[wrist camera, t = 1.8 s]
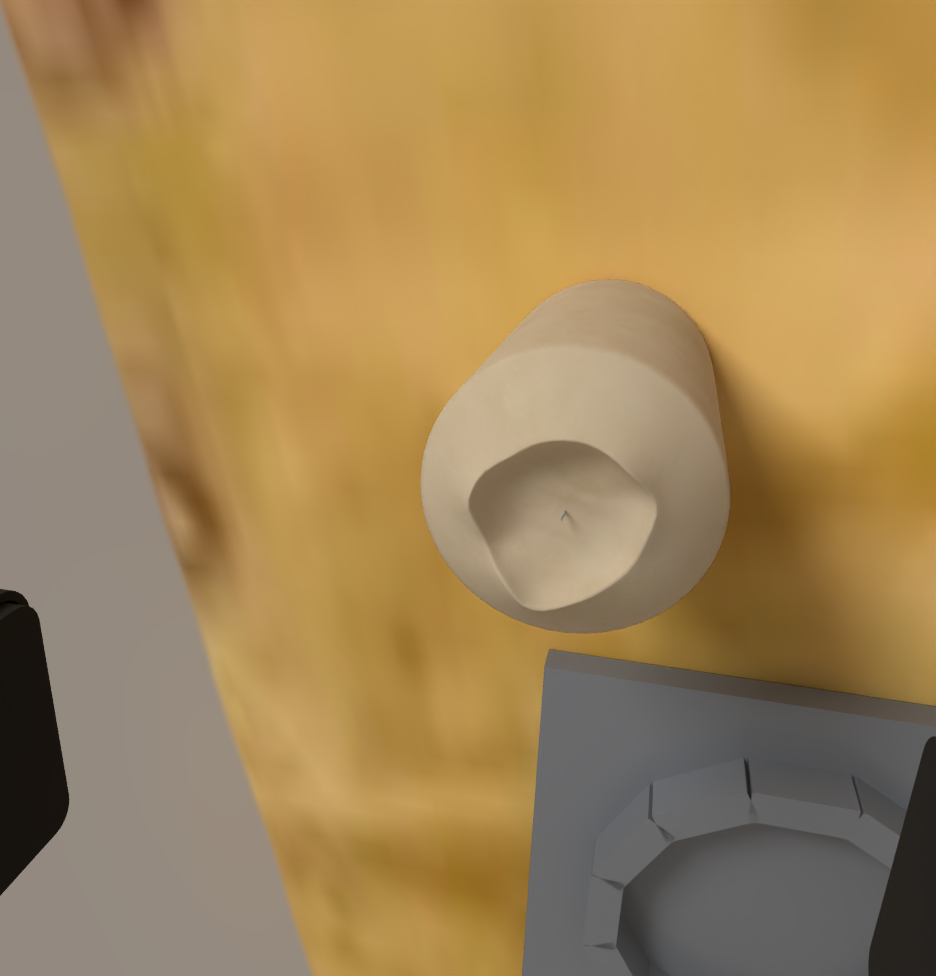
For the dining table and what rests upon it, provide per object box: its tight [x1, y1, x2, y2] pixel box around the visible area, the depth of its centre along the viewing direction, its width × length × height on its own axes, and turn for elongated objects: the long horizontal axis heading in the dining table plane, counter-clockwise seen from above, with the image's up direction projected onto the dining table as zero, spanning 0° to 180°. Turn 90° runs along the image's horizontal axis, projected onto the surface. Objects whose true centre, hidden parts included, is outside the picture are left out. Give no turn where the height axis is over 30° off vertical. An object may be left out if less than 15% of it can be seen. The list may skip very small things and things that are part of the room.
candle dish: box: [522, 649, 936, 976], centre depth 27 cm, size 15×15×2 cm
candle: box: [421, 279, 730, 633], centre depth 19 cm, size 6×6×10 cm
